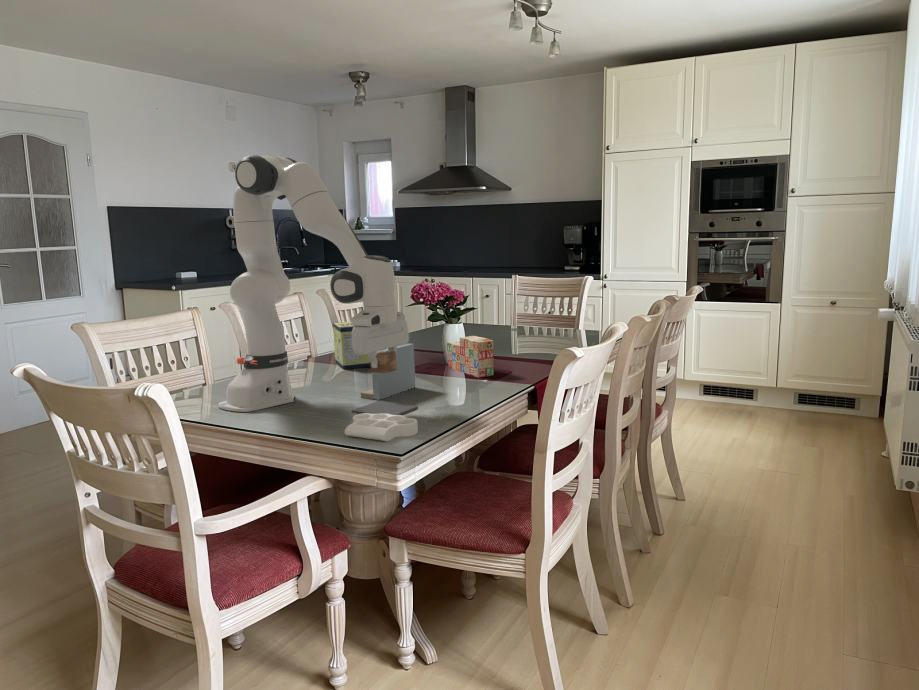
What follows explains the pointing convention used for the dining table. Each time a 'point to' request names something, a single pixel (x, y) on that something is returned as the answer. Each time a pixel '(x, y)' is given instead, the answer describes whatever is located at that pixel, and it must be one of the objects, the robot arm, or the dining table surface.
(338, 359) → the protein box
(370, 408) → the mat
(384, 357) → the walnut cube
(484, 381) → the dining table surface
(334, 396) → the dining table surface
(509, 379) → the dining table surface
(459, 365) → the stack of blocks
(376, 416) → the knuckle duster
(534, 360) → the dining table surface
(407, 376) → the pale blue flat slab
